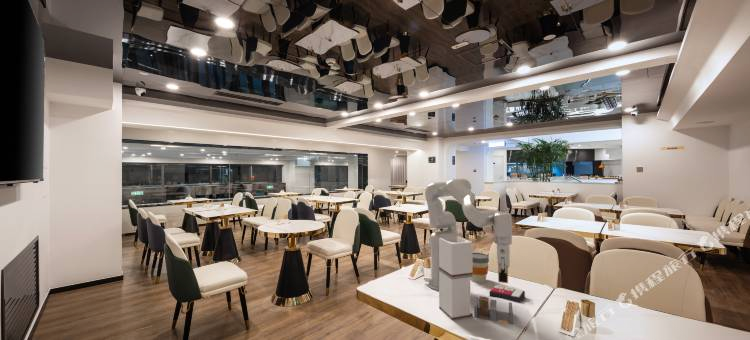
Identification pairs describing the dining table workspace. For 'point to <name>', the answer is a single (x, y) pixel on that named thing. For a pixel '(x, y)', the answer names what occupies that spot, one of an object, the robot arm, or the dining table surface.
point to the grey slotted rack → (495, 313)
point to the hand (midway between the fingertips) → (503, 279)
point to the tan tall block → (506, 272)
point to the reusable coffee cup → (480, 267)
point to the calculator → (507, 293)
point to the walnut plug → (483, 306)
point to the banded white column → (455, 277)
